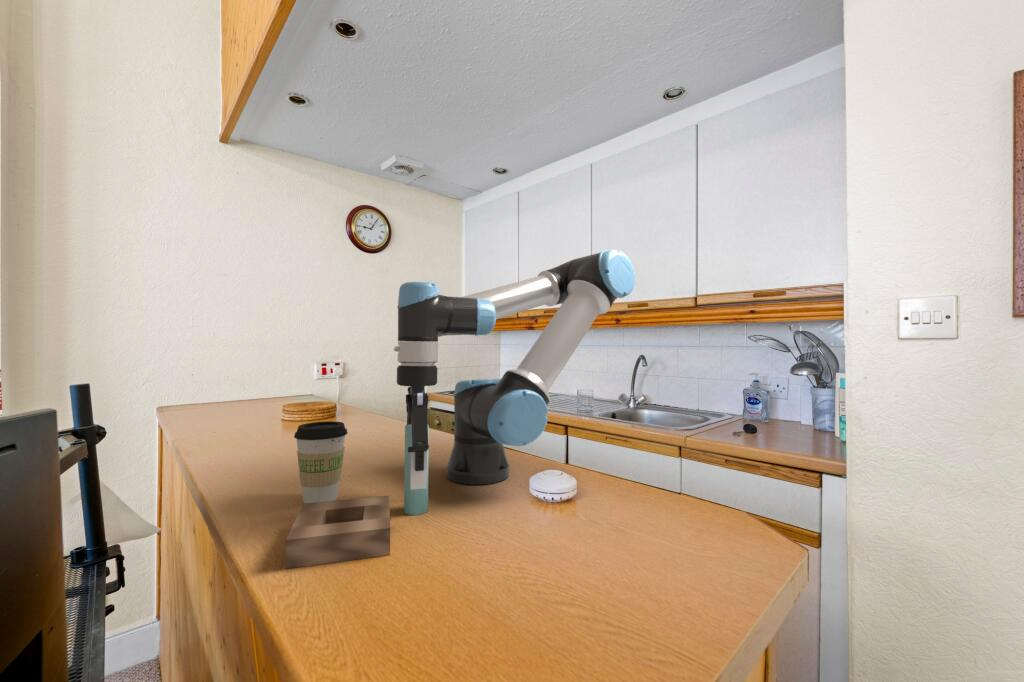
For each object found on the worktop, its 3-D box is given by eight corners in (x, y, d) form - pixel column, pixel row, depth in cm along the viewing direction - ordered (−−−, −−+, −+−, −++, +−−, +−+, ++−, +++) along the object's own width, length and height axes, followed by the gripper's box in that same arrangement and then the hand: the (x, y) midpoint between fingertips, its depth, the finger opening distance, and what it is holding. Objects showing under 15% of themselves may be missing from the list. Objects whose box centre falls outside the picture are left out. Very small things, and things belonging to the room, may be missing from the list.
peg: (426, 505, 82) (427, 423, 82) (429, 513, 77) (429, 427, 78) (403, 507, 80) (404, 424, 80) (404, 516, 76) (405, 428, 76)
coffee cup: (308, 513, 77) (309, 432, 77) (283, 501, 83) (284, 425, 83) (356, 498, 85) (357, 424, 85) (330, 488, 91) (331, 419, 91)
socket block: (388, 517, 75) (389, 495, 76) (389, 554, 62) (390, 527, 62) (303, 527, 71) (303, 503, 71) (285, 569, 58) (285, 540, 58)
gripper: (395, 361, 90) (393, 460, 90) (399, 367, 66) (397, 502, 66) (430, 362, 92) (428, 458, 92) (446, 367, 68) (444, 497, 68)
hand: (415, 476), depth 79 cm, fingers open, 13 cm apart
